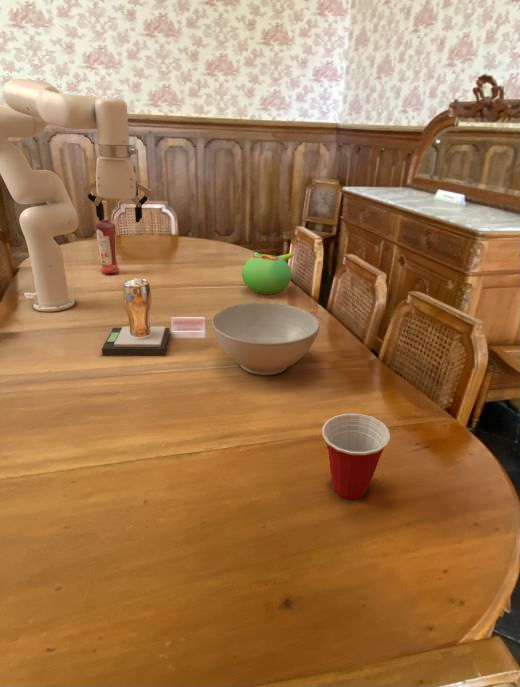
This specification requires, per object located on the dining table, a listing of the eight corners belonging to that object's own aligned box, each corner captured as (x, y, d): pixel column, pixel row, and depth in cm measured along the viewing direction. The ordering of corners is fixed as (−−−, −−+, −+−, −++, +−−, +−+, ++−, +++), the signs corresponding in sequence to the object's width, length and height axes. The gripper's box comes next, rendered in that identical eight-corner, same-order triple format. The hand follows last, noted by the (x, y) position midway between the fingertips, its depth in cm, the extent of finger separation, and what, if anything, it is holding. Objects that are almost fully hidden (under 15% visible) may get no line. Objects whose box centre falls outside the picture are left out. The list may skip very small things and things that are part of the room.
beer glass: (147, 341, 125) (143, 287, 119) (123, 338, 126) (117, 284, 120) (157, 331, 131) (154, 279, 125) (134, 328, 132) (129, 277, 126)
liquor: (123, 272, 190) (117, 201, 178) (109, 277, 184) (101, 203, 172) (111, 269, 193) (103, 199, 181) (96, 273, 187) (88, 201, 176)
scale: (102, 355, 123) (101, 345, 122) (113, 333, 135) (112, 324, 134) (164, 355, 124) (163, 345, 123) (170, 333, 137) (169, 325, 135)
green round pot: (234, 295, 169) (235, 255, 163) (252, 282, 183) (253, 245, 177) (281, 302, 163) (283, 261, 157) (296, 289, 177) (299, 250, 171)
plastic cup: (310, 467, 85) (316, 411, 80) (369, 465, 86) (378, 410, 81) (323, 512, 75) (330, 452, 70) (388, 509, 76) (400, 450, 71)
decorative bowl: (325, 351, 129) (329, 310, 124) (301, 399, 106) (305, 351, 101) (235, 335, 137) (235, 296, 131) (193, 377, 114) (192, 331, 108)
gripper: (151, 153, 123) (154, 219, 131) (84, 149, 122) (91, 216, 130) (146, 155, 117) (150, 224, 124) (75, 151, 115) (83, 222, 123)
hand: (120, 220), depth 127 cm, fingers open, 9 cm apart
